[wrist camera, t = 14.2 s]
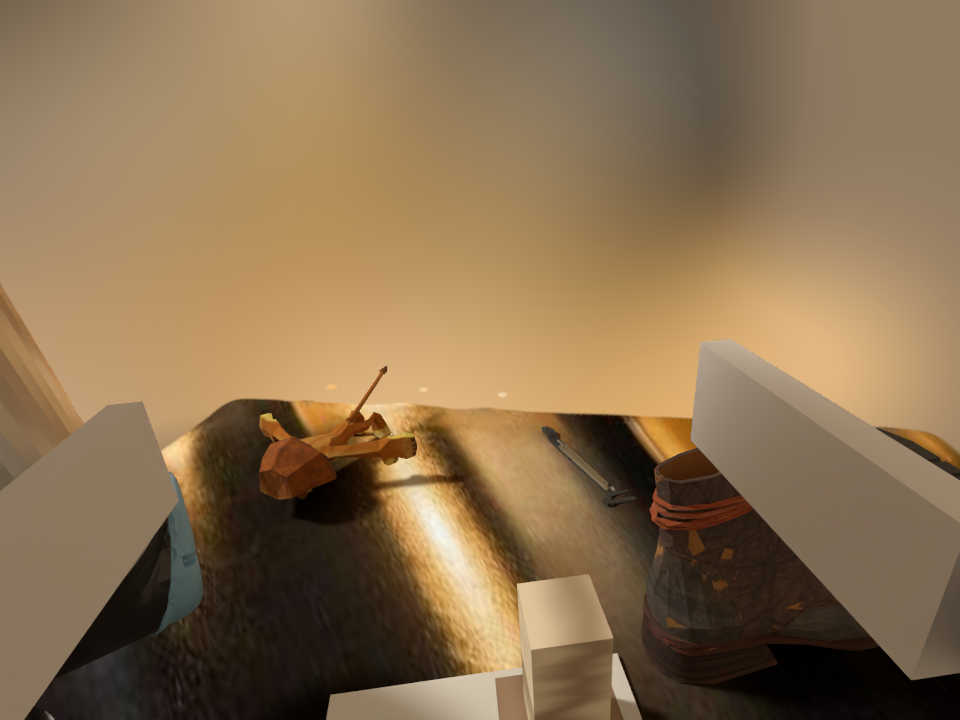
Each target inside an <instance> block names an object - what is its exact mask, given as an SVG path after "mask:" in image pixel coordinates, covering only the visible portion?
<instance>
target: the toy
mask: <svg viewBox="0 0 960 720" xmlns="http://www.w3.org/2000/svg"><path fill="white" fill-rule="evenodd" d="M386 372H387V366H386V367H384V368H382V369H381V370H380V374H379V376H378V377H377V379H376V380H375V382H374V383H373V385H372V386H371V387H370V389H369V390H368V392H367V393H366V395H365V396H364V398H363V399H362V401H361V402H360V403H359V405H358V406H357V408H356V409H355V410H354V411H352V412H351V414H350V417H349V418H347V419H346V420H345V421H344V422H342V423H340V424H338V425H337V426H336V427H335V428H334V430H333V431H332V432H331V433H329V434H323V435H316V436H312V437H308V438H304V439H300V440H299V439H298V438H296V437H294V436H292V437H291V436H290V435H289V434H288V433H287V432H286V431H285V430H284V429H283V428H282V426H281V425H280V424H279V423H278V421H277V420H275V419H272V414H264V415H261V416H260V429H261V431H262V432H263V434H264V436H266V437H270V438H271V439H272V441H273V442H274V443H272V444H271V445H270V446H269V448H268V450H267V451H266V453H265V455H264V456H263V459H262V463H261V468H260V491H261V492H263V493H265V494H267V495H269V496H271V497H274V498H276V499H287V498H293V497H295V496H296V497H298V498H300V499H301V500H304V499H306V498H307V495H308V493H309V492H311V491H312V488H315V487H317V486H320V485H322V484H325V483H327V482H330V481H332V480H334V479H337V476H336V472H335V468H334V467H333V465H332V463H331V462H333V461H336V460H337V459H338V458H344V457H380V456H381V458H382V460H383V462H384V464H386V465H391V464H394V463H396V462H397V461H398V457H400V458H405V459H408V458H410V457H413V456H415V455H416V451H417V443H416V440H415V437H414V434H411V433H407V432H403V433H401V434H398V435H396V436H388V435H390V434H391V432H390V430H389V428H388V426H387V424H386V422H385V421H384V419H383V418H382V416H381V415H380V414H378V413H375V412H374V413H373V414H372V415H371V417H370V418H369V419H368V420H366V421H364V417H363V415H362V414H361V413H360V412H359V410H360V409H361V407H362V406H363V404H364V403H365V401H366V400H367V398H368V397H369V395H370V394H371V392H372V391H373V389H374V388H375V386H376V385H377V383H378V381H379V380H380V378H381V377H382V375H383V374H385V373H386ZM370 426H372V430H373V433H374V436H375V437H377V438H382V439H379V440H374V441H369V442H364V443H359V444H353V445H346V443H347V441H348V440H349V438H350V437H352V436H353V435H355V434H359V435H362V434H363V432H364V431H366V430H367V429H369V427H370ZM387 436H388V437H387Z"/></svg>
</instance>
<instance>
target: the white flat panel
mask: <svg viewBox="0 0 960 720" xmlns="http://www.w3.org/2000/svg"><path fill="white" fill-rule="evenodd" d="M515 675H522V667H520V668H513V669H507V670H500V671H493V672H486V673H479V674H472V675H465V676H458V677H451V678H444V679H437V680H430V681H424V682H417V683H410V684H403V685H396V686H389V687H382V688H375V689H368V690H361V691H354V692H348V693H341V694H334V695H330V701H329V707H328V712H327V718H326V720H499V715H498V705H497V694H496V683H495V678H501V677H508V676H515ZM612 688H613V691H614V693H615V696H616V699H617V702H618V705H619V708H620V711H621V714H622V716H623V719H624V720H642V717H641V715H640V712H639V709H638V707H637V704H636V702H635V699H634V696H633V694H632V691H631V688H630V686H629V683H628V681H627V678H626V675H625V673H624V670H623V667H622V665H621V662H620V660H619V657H618V654H613V661H612Z"/></svg>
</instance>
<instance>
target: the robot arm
mask: <svg viewBox="0 0 960 720" xmlns="http://www.w3.org/2000/svg"><path fill="white" fill-rule="evenodd" d="M691 441H692V442H693V443H694V444H695V445H696V446H697V447H698V448H699V449H700V450H701V452H702V453H703V454H704V455H705V456H706V457H707V458H708V459H709V460H710V461H711V462H712V464H713V465H714V466H715V467H716V468H717V469H718V470H719V471H720V472H721V473H722V474H723V476H724V477H725V478H726V479H727V480H728V481H729V482H730V483H731V484H732V485H733V486H734V488H735V489H736V490H737V491H738V492H739V493H740V494H741V495H742V496H743V497H744V498H745V500H746V501H747V502H748V503H749V504H750V505H751V506H752V507H753V508H754V509H755V510H756V512H757V513H758V514H759V515H760V516H761V517H762V518H763V519H764V520H765V521H766V522H767V523H768V525H769V526H770V527H771V528H772V529H773V530H774V531H775V532H776V533H777V534H778V535H779V537H780V538H781V539H782V540H783V541H784V542H785V543H786V544H787V545H788V546H789V547H790V549H791V550H792V551H793V552H794V553H795V554H796V555H797V556H798V557H799V558H800V559H801V561H802V562H803V563H804V564H805V565H806V566H807V567H808V568H809V569H810V570H811V571H812V573H813V574H814V575H815V576H816V577H817V578H818V579H819V580H820V581H821V582H822V583H823V585H824V586H825V587H826V588H827V589H828V590H829V591H830V592H831V593H832V594H833V595H834V597H835V598H836V599H837V600H838V601H839V602H840V603H841V604H842V605H843V606H844V607H845V609H846V610H847V611H848V612H849V613H850V614H851V615H852V616H853V617H854V618H855V619H856V621H857V622H858V623H859V624H860V625H861V626H862V627H863V628H864V629H865V630H866V631H867V633H868V634H869V635H870V636H871V637H872V638H873V639H874V640H875V641H876V642H877V643H878V645H879V646H880V647H881V648H882V649H883V650H884V651H885V652H886V653H887V654H888V655H889V656H890V658H891V659H892V660H893V661H894V662H895V663H896V664H897V665H898V666H899V667H900V668H901V670H902V671H903V672H904V673H905V674H906V675H907V676H908V677H909V678H910V679H911V680H916V679H923V678H929V677H936V676H942V675H949V674H955V673H960V470H959V469H958V468H956V467H954V466H953V465H951V464H949V463H948V462H946V461H945V462H941V460H940V458H939V457H938V456H936V455H934V454H933V453H931V452H929V451H928V450H926V449H924V448H923V447H921V446H919V445H918V444H916V443H914V442H913V441H910V440H908V439H905V438H902V437H900V436H897V435H895V434H892V433H889V432H887V431H884V430H881V429H879V428H874V427H873V426H871V425H869V424H868V423H866V422H864V421H863V420H861V419H860V418H858V417H856V416H855V415H853V414H851V413H850V412H848V411H847V410H845V409H843V408H842V407H840V406H838V405H837V404H835V403H833V402H832V401H830V400H829V399H827V398H825V397H824V396H822V395H821V394H819V393H817V392H816V391H814V390H813V389H811V388H809V387H808V386H806V385H804V384H803V383H801V382H800V381H798V380H796V379H795V378H793V377H791V376H790V375H788V374H787V373H785V372H783V371H782V370H780V369H778V368H777V367H775V366H773V365H772V364H770V363H769V362H767V361H765V360H764V359H762V358H761V357H759V356H757V355H756V354H754V353H753V352H751V351H749V350H748V349H746V348H744V347H743V346H741V345H740V344H738V343H736V342H735V341H733V340H731V339H727V340H717V341H708V342H700V353H699V362H698V371H697V381H696V392H695V402H694V411H693V421H692V431H691ZM195 552H196V548H195V543H194V537H193V533H192V529H191V525H190V521H189V517H188V513H187V509H186V506H185V502H184V499H183V496H182V492H181V489H180V486H179V483H178V481H177V479H176V478H175V476H174V475H173V474H172V473H171V472H169V471H168V470H167V467H166V464H165V461H164V459H163V456H162V453H161V451H160V449H159V445H158V443H157V440H156V438H155V434H154V432H153V429H152V426H151V424H150V421H149V418H148V416H147V413H146V410H145V407H144V405H143V402H135V403H125V404H116V405H108V406H106V407H105V408H104V409H102V410H101V411H100V412H98V413H97V414H96V415H95V416H93V417H92V418H91V419H90V420H88V421H87V422H86V423H85V424H84V423H83V421H82V419H81V418H80V416H79V414H78V413H77V411H76V409H75V408H74V406H73V404H72V403H71V401H70V400H69V398H68V396H67V394H66V393H65V391H64V389H63V388H62V386H61V385H60V382H59V381H58V379H57V377H56V376H55V374H54V372H53V371H52V369H51V367H50V366H49V364H48V362H47V361H46V359H45V358H44V356H43V354H42V352H41V351H40V349H39V347H38V346H37V344H36V342H35V341H34V339H33V337H32V336H31V334H30V332H29V331H28V329H27V327H26V326H25V324H24V322H23V320H22V319H21V317H20V315H19V314H18V312H17V310H16V309H15V307H14V305H13V304H12V302H11V300H10V299H9V297H8V295H7V294H6V292H5V291H4V289H3V287H2V285H1V284H0V720H57V719H56V718H55V717H54V716H53V715H52V714H50V713H49V712H47V711H45V710H43V709H41V708H38V707H36V706H34V705H35V704H36V702H37V701H38V699H39V698H40V697H41V695H42V694H43V692H44V691H45V689H46V688H47V687H48V685H49V684H50V682H51V681H52V680H54V679H56V678H58V677H61V676H63V675H65V674H67V673H69V672H71V671H73V670H75V669H78V668H80V667H82V666H84V665H86V664H88V663H90V662H92V661H95V660H97V659H99V658H101V657H103V656H105V655H107V654H110V653H112V652H114V651H116V650H118V649H120V648H122V647H124V646H127V645H129V644H131V643H133V642H135V641H137V640H139V639H141V638H144V637H146V636H148V635H149V636H153V635H155V634H158V633H160V631H163V630H164V629H165V628H166V626H168V625H170V624H171V623H173V622H175V621H177V620H179V619H181V618H183V617H185V616H187V615H189V614H190V613H192V612H193V611H194V610H195V609H196V608H197V606H198V605H199V603H200V601H201V599H202V595H203V584H202V576H201V570H200V566H199V561H198V557H197V555H196V553H195Z"/></svg>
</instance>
